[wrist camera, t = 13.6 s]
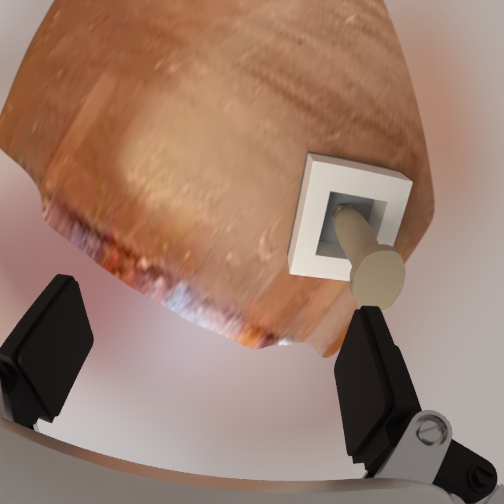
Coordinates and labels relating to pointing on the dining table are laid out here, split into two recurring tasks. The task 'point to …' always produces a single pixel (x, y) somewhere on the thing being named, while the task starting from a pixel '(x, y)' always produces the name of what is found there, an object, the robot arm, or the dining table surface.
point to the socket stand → (325, 203)
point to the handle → (368, 260)
